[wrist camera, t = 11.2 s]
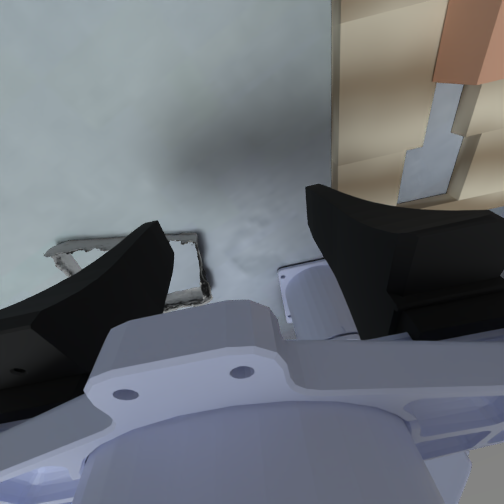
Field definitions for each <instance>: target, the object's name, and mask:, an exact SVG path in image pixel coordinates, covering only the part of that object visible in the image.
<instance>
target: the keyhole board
mask: <svg viewBox="0 0 504 504" xmlns="http://www.w3.org/2000/svg"><path fill="white" fill-rule="evenodd" d="M448 4H449V0H332V47H331V188H332V189H335V190H337V191H340V192H343V193H345V194H348V195H351V196H354V197H357V198H361V199H364V200H367V201H371V202H376V203H380V204H385V205H390V206H397V207H405V208H413V209H426V210H487V209H492V208H497V207H501V206H504V79H501V80H497V81H493V82H488V83H484V84H480V85H465V84H464V87H463V91H462V94H461V98H460V102H459V105H458V109H457V112H456V116H455V120H454V123H453V127H452V130H451V133H454V134H457V135H461V136H464V138H463V141H462V144H461V147H460V151H459V154H458V157H457V160H456V164H455V167H454V170H453V173H452V176H451V180H450V183H449V186H448V189H447V192H446V194H442V195H437V196H432V197H428V198H423V199H419V200H414V201H410V202H405V203H401V204H397V199H398V194H399V188H400V183H401V178H402V172H403V167H404V161H405V156H406V150H411V149H415V148H420V147H422V146H423V142H424V137H425V133H426V128H427V124H428V119H429V115H430V110H431V105H432V101H433V96H434V92H435V87H436V83H437V82H432V81H433V76H434V71H435V66H436V61H437V57H438V52H439V47H440V42H441V38H442V33H443V28H444V23H445V18H446V14H447V9H448Z"/></svg>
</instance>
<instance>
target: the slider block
mask: <svg viewBox="0 0 504 504" xmlns="http://www.w3.org/2000/svg"><path fill="white" fill-rule="evenodd" d="M501 79H504V0H449V4H448V9H447V14H446V18H445V23H444V28H443V33H442V38H441V42H440V47H439V52H438V57H437V61H436V66H435V71H434V76H433V81H432V82H438V83H452V84H465V85H480V84H484V83H488V82H493V81H497V80H501Z"/></svg>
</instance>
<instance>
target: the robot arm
mask: <svg viewBox="0 0 504 504" xmlns="http://www.w3.org/2000/svg"><path fill="white" fill-rule="evenodd" d="M305 190H306V204H307V219H308V226H309V228H310V231H311V233H312V236H313V238H314V240H315V242H316V244H317V246H318V248H319V249H320V251H321V253H322V254H323V256H324V258H325V259H323V260H318V261H313V262H308V263H304V264H299V265H294V266H289V267H285V268H281V269H279V270H278V278H279V283H280V289H281V294H282V299H283V305H284V310H285V316H286V321H287V322H288V323H293V325H294V329H295V333H296V337H297V340H291V339H283V337H282V335H281V332H280V328H279V323H278V319H277V318H276V316H275V315H274V314H273V312H272V311H271V310H270V308H269V307H267V306H264V305H261V304H259V303H256V302H253V301H251V300H226V301H221V302H216V303H211V304H207V305H202V306H197V307H192V308H187V309H182V310H178V311H173V312H168V313H163V310H164V305H165V301H166V297H167V293H168V289H169V285H170V281H171V277H172V273H173V266H174V252H173V250H172V248H171V246H170V244H169V242H168V240H167V238H166V236H165V234H164V232H163V230H162V228H161V226H160V224H159V222H158V220H157V221H152V222H148V223H145V224H143V225H141V226H140V227H138V228H137V229H136V230H134V231H133V232H132V233H131V234H129V235H128V236H127V237H126V238H124V239H123V240H122V241H121V242H119V243H118V244H117V245H116V246H114V247H113V248H112V249H110V250H109V251H108V252H106V253H105V254H104V255H103V256H101V257H100V258H99V259H97V260H96V261H94V262H93V263H91V264H90V265H88V266H87V267H85V268H84V269H82V270H80V271H79V272H77V273H76V274H74V275H72V276H70V277H69V278H67V279H65V280H63V281H61V282H59V283H58V284H56V285H54V286H52V287H50V288H48V289H46V290H44V291H42V292H40V293H38V294H36V295H34V296H32V297H29V298H27V299H25V300H23V301H21V302H18V303H16V304H14V305H11V306H9V307H6V308H4V309H1V310H0V504H458V503H459V500H460V498H461V495H462V493H463V490H464V488H465V485H466V482H467V480H468V478H469V475H470V472H471V468H472V463H471V461H470V459H469V457H468V455H469V450H473V449H477V448H482V447H485V446H490V445H494V444H498V443H503V442H504V279H503V278H502V277H501V276H500V275H501V273H502V271H503V270H504V218H502V217H501V216H499V215H497V214H495V213H493V212H492V211H490V210H426V209H413V208H405V207H397V206H390V205H385V204H380V203H376V202H371V201H367V200H364V199H361V198H357V197H354V196H351V195H348V194H345V193H343V192H340V191H337V190H335V189H332V188H330V187H327V186H324V185H321V184H316V185H311V186H307V187H305ZM282 275H284V276H282Z"/></svg>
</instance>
